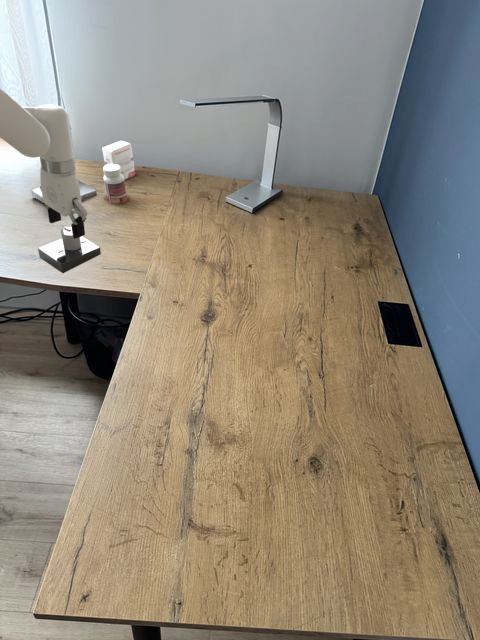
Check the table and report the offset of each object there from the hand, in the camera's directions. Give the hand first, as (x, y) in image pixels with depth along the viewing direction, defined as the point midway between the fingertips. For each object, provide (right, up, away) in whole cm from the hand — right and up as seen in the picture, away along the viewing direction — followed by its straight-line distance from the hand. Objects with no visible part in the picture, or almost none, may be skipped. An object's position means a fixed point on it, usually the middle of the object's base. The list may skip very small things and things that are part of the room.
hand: (67, 229), depth 129 cm
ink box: (+3, +26, +41) cm, 49 cm away
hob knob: (0, -4, +4) cm, 5 cm away
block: (-12, +17, +29) cm, 35 cm away
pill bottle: (+5, +15, +30) cm, 34 cm away
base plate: (-1, -6, +5) cm, 8 cm away
